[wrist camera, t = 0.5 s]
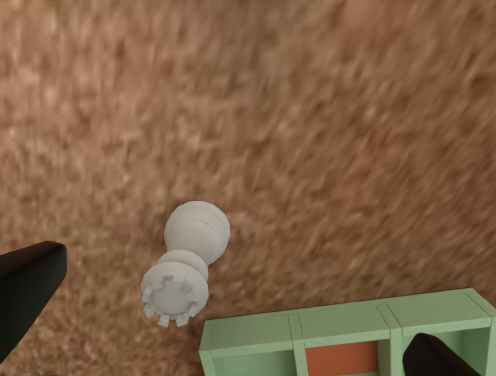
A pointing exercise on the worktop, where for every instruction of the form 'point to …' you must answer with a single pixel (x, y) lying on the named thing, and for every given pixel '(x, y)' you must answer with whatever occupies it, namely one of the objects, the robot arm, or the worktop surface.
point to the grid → (350, 337)
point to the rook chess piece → (185, 262)
